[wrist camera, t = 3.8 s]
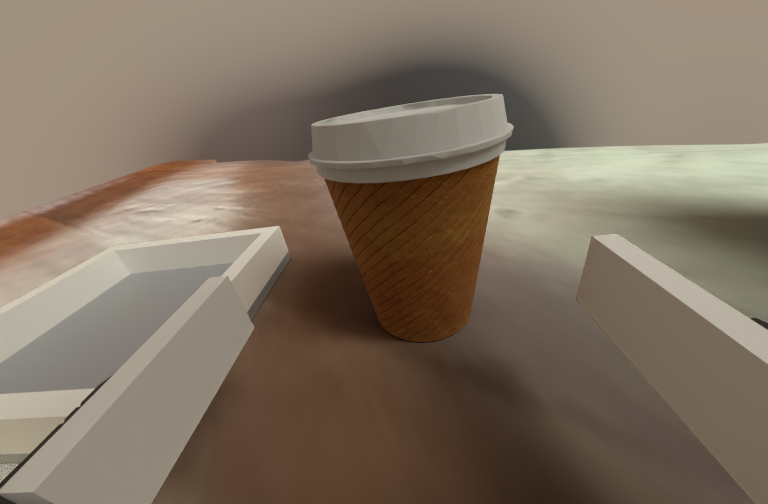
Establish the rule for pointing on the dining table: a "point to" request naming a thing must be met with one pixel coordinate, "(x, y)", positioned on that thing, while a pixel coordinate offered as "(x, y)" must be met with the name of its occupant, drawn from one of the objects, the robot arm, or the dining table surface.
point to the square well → (112, 320)
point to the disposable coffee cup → (415, 203)
